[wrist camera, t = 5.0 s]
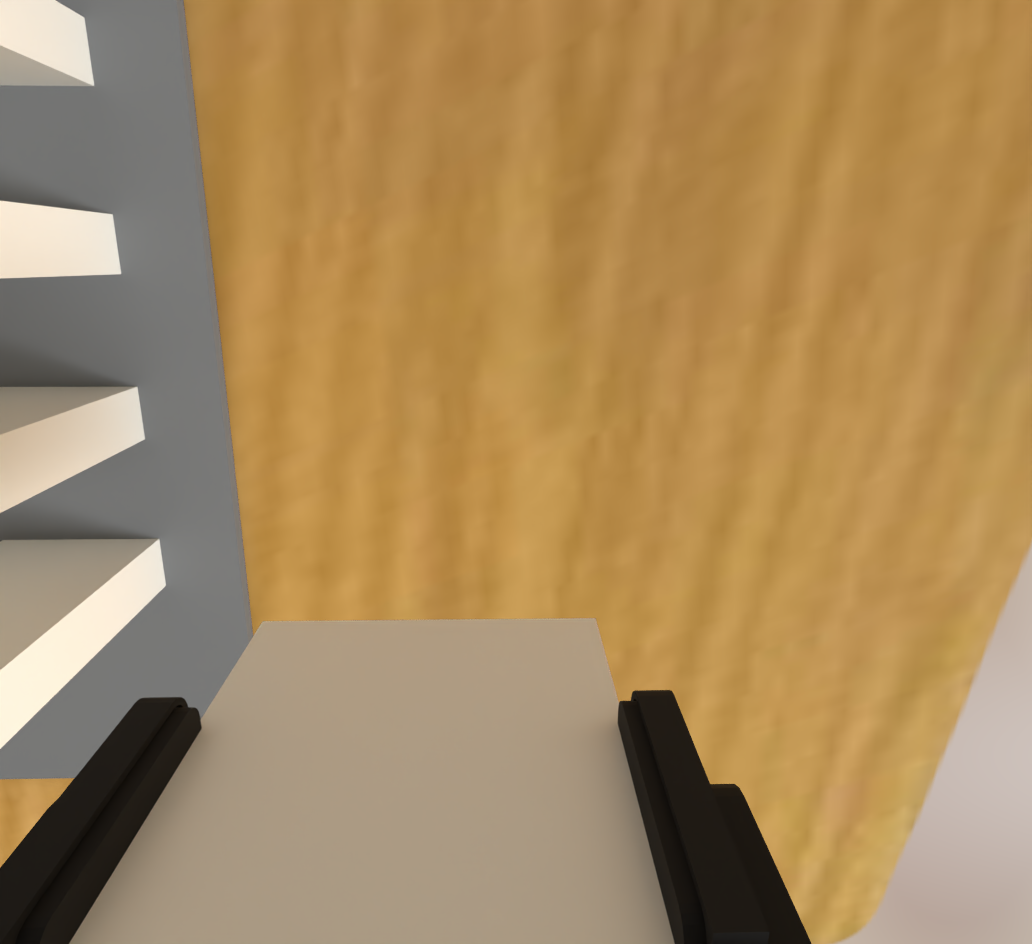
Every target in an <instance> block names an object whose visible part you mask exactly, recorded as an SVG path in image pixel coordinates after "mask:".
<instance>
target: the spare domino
mask: <svg viewBox="0 0 1032 944" xmlns="http://www.w3.org/2000/svg"><path fill="white" fill-rule="evenodd" d="M618 707H619V702H618V698H617V695H616V691H615V687H614V684H613V680H612V677H611V673H610V669H609V666H608V662H607V658H606V655H605V651H604V647H603V644H602V640H601V636H600V633H599V629H598V626H597V622H596V618H570V619H462V620H353V621H263V622H262V623H261V625H260V626H259V628H258V630H257V631H256V633H255V634H254V636H253V638H252V639H251V641H250V642H249V644H248V646H247V647H246V649H245V650H244V652H243V653H242V655H241V657H240V658H239V660H238V661H237V663H236V665H235V666H234V668H233V669H232V671H231V672H230V674H229V676H228V677H227V679H226V680H225V682H224V684H223V685H222V687H221V688H220V690H219V691H218V693H217V695H216V696H215V698H214V699H213V701H212V703H211V704H210V706H209V707H208V709H207V710H206V712H205V714H204V715H203V717H202V718H201V726H202V729H201V731H200V732H199V734H198V735H197V737H196V739H195V740H194V742H193V744H192V745H191V747H190V748H189V750H188V752H187V753H186V755H185V757H184V758H183V760H182V761H181V763H180V765H179V766H178V768H177V770H176V771H175V773H174V774H173V776H172V778H171V779H170V781H169V782H168V784H167V786H166V787H165V789H164V791H163V792H162V794H161V795H160V797H159V799H158V800H157V802H156V804H155V805H154V807H153V808H152V810H151V812H150V813H149V815H148V817H147V818H146V820H145V821H144V823H143V825H142V826H141V828H140V830H139V831H138V833H137V834H136V836H135V838H134V839H133V841H132V842H131V844H130V846H129V847H128V849H127V851H126V852H125V854H124V855H123V857H122V859H121V860H120V862H119V864H118V865H117V867H116V868H115V870H114V872H113V873H112V875H111V877H110V878H109V880H108V881H107V883H106V885H105V886H104V888H103V890H102V891H101V893H100V894H99V896H98V898H97V899H96V901H95V902H94V904H93V906H92V907H91V909H90V911H89V912H88V914H87V915H86V917H85V919H84V920H83V922H82V924H81V925H80V927H79V928H78V930H77V932H76V933H75V935H74V937H73V938H72V940H71V941H70V943H69V944H675V943H674V939H673V935H672V931H671V928H670V924H669V920H668V916H667V912H666V908H665V904H664V901H663V897H662V893H661V889H660V885H659V881H658V877H657V874H656V870H655V866H654V862H653V858H652V854H651V850H650V846H649V843H648V839H647V835H646V831H645V827H644V823H643V819H642V816H641V812H640V808H639V804H638V800H637V796H636V792H635V789H634V785H633V781H632V777H631V773H630V769H629V765H628V761H627V758H626V754H625V750H624V746H623V742H622V738H621V734H620V731H619V727H618Z"/></svg>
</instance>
